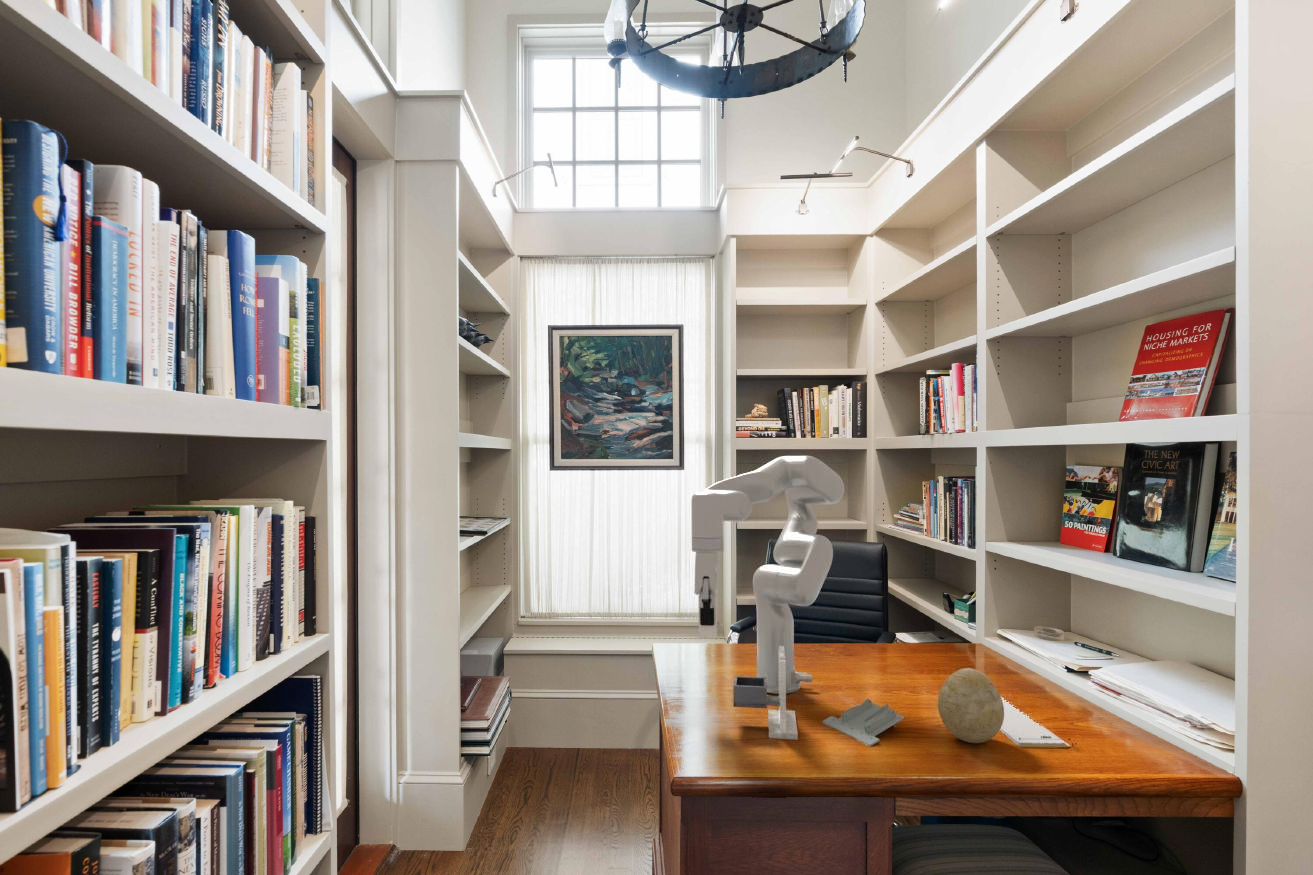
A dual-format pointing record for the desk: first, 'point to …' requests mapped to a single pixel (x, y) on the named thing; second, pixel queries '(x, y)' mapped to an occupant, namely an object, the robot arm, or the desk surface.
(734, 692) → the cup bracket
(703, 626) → the cream rectangular beam
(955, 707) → the fossilized egg
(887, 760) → the desk surface
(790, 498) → the robot arm
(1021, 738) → the baseboard
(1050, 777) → the desk surface
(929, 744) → the desk surface
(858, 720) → the metal bracket
